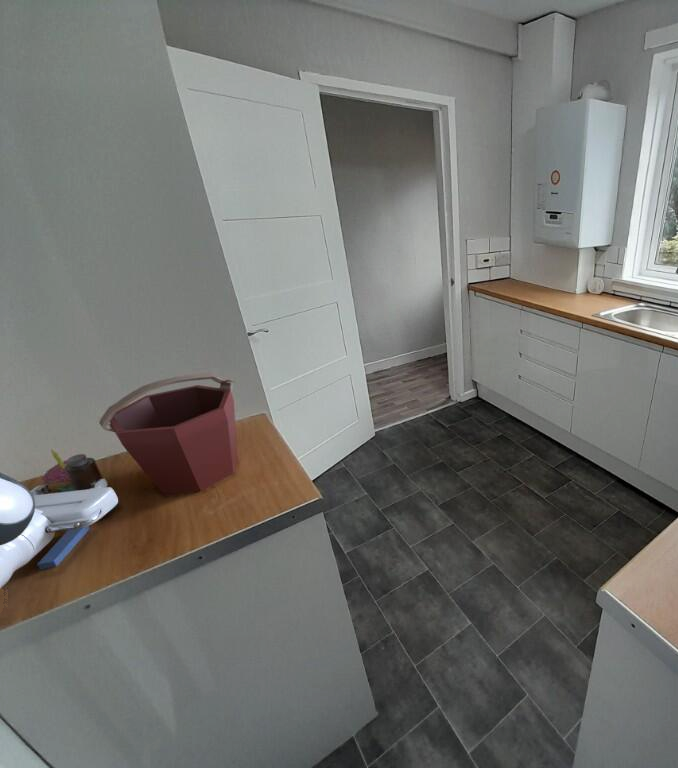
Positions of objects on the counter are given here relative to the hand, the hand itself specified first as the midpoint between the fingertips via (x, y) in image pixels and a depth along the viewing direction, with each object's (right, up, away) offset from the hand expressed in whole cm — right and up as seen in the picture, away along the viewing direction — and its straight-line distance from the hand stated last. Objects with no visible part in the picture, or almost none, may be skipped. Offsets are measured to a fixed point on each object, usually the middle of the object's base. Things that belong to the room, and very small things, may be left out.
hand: (74, 484), depth 81 cm
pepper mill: (-1, -8, +6) cm, 10 cm away
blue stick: (+3, -12, -3) cm, 13 cm away
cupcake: (-13, -4, +13) cm, 19 cm away
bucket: (+11, -2, +19) cm, 22 cm away
